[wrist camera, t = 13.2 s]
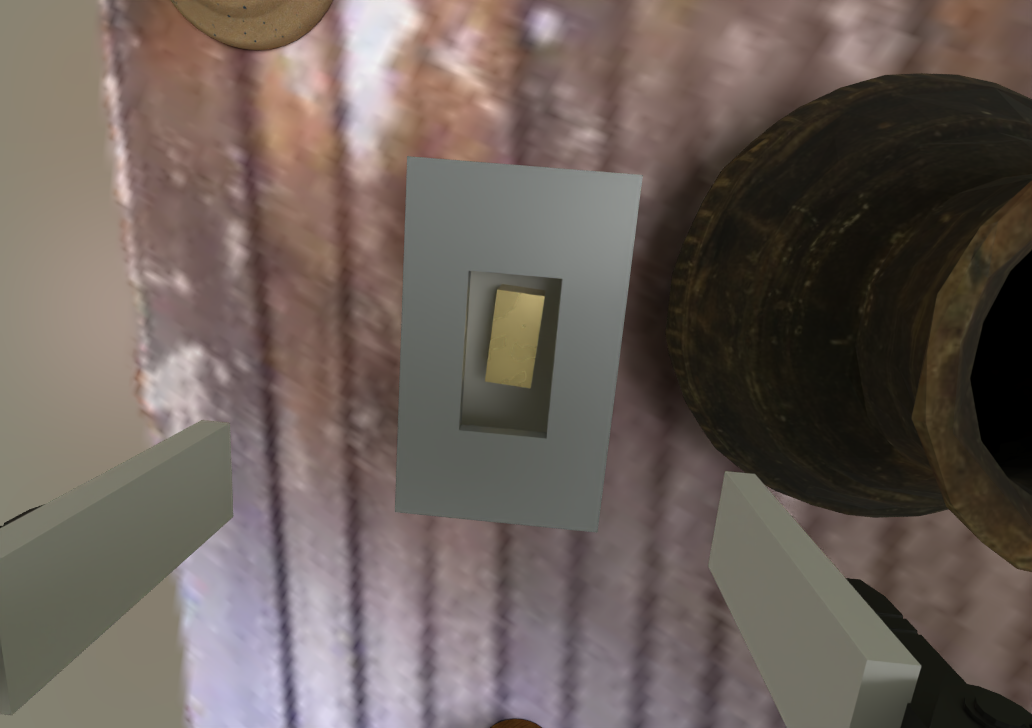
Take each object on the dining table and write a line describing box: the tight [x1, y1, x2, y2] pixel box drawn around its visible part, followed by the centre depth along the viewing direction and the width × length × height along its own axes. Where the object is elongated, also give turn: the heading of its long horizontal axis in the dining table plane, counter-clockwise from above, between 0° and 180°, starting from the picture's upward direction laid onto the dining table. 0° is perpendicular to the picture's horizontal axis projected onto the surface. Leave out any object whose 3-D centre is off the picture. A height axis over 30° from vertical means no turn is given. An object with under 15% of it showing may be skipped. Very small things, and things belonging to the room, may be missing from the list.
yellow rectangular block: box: [485, 284, 545, 388], centre depth 38 cm, size 6×3×4 cm, turn 172°
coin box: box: [395, 156, 643, 532], centre depth 36 cm, size 20×12×10 cm, turn 175°
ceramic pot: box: [665, 73, 1032, 572], centre depth 28 cm, size 24×24×22 cm
